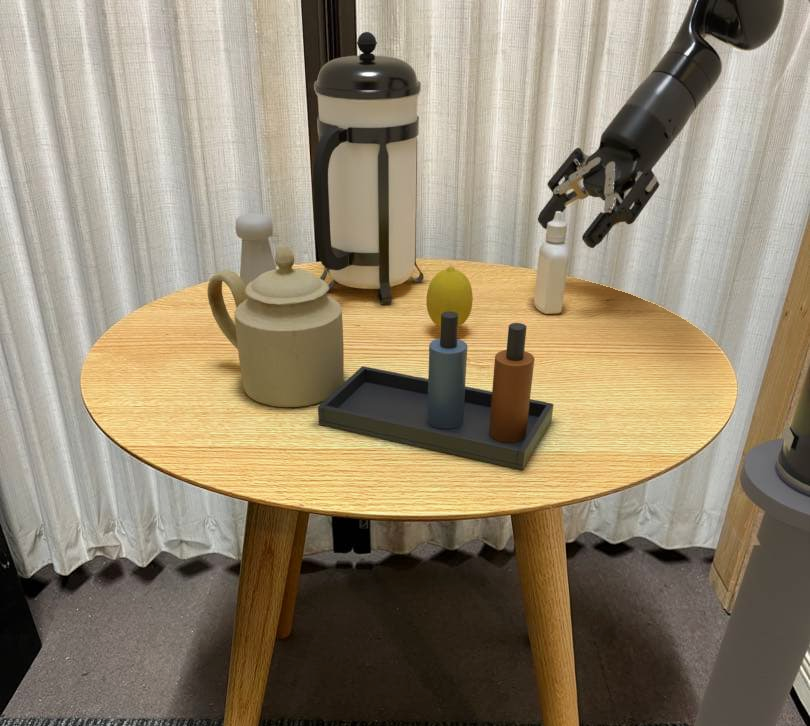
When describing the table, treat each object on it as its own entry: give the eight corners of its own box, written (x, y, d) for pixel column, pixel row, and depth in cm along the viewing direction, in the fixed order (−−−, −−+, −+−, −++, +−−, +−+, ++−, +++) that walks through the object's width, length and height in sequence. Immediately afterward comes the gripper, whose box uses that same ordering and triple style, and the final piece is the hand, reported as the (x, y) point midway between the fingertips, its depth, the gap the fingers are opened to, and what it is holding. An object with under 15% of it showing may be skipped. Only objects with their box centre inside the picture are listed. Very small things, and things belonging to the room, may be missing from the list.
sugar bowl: (195, 405, 86) (171, 259, 77) (221, 360, 94) (203, 225, 85) (337, 410, 85) (331, 264, 76) (350, 364, 94) (346, 229, 85)
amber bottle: (530, 429, 81) (542, 321, 75) (519, 446, 78) (531, 336, 72) (495, 421, 82) (504, 315, 76) (483, 438, 80) (492, 329, 73)
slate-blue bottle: (468, 416, 83) (474, 310, 77) (455, 432, 81) (461, 324, 74) (435, 409, 84) (438, 304, 78) (421, 424, 82) (424, 318, 75)
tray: (551, 421, 83) (553, 403, 82) (522, 470, 76) (524, 451, 75) (362, 382, 90) (362, 365, 89) (318, 424, 83) (317, 406, 81)
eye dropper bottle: (525, 311, 107) (535, 215, 100) (537, 297, 111) (547, 204, 104) (558, 317, 105) (570, 220, 98) (569, 302, 110) (581, 208, 102)
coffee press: (301, 272, 118) (285, 26, 100) (410, 264, 121) (413, 24, 103) (321, 318, 104) (305, 43, 86) (442, 308, 108) (452, 40, 89)
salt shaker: (296, 320, 104) (288, 213, 96) (267, 336, 100) (257, 225, 92) (260, 311, 106) (249, 205, 98) (230, 325, 102) (217, 217, 94)
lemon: (441, 344, 98) (443, 278, 94) (417, 328, 102) (418, 263, 97) (479, 335, 101) (483, 270, 96) (454, 320, 104) (457, 256, 100)
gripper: (594, 93, 103) (514, 201, 105) (680, 112, 94) (589, 230, 96) (619, 135, 109) (542, 237, 111) (702, 157, 99) (615, 268, 101)
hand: (564, 234), depth 103 cm, fingers open, 8 cm apart
